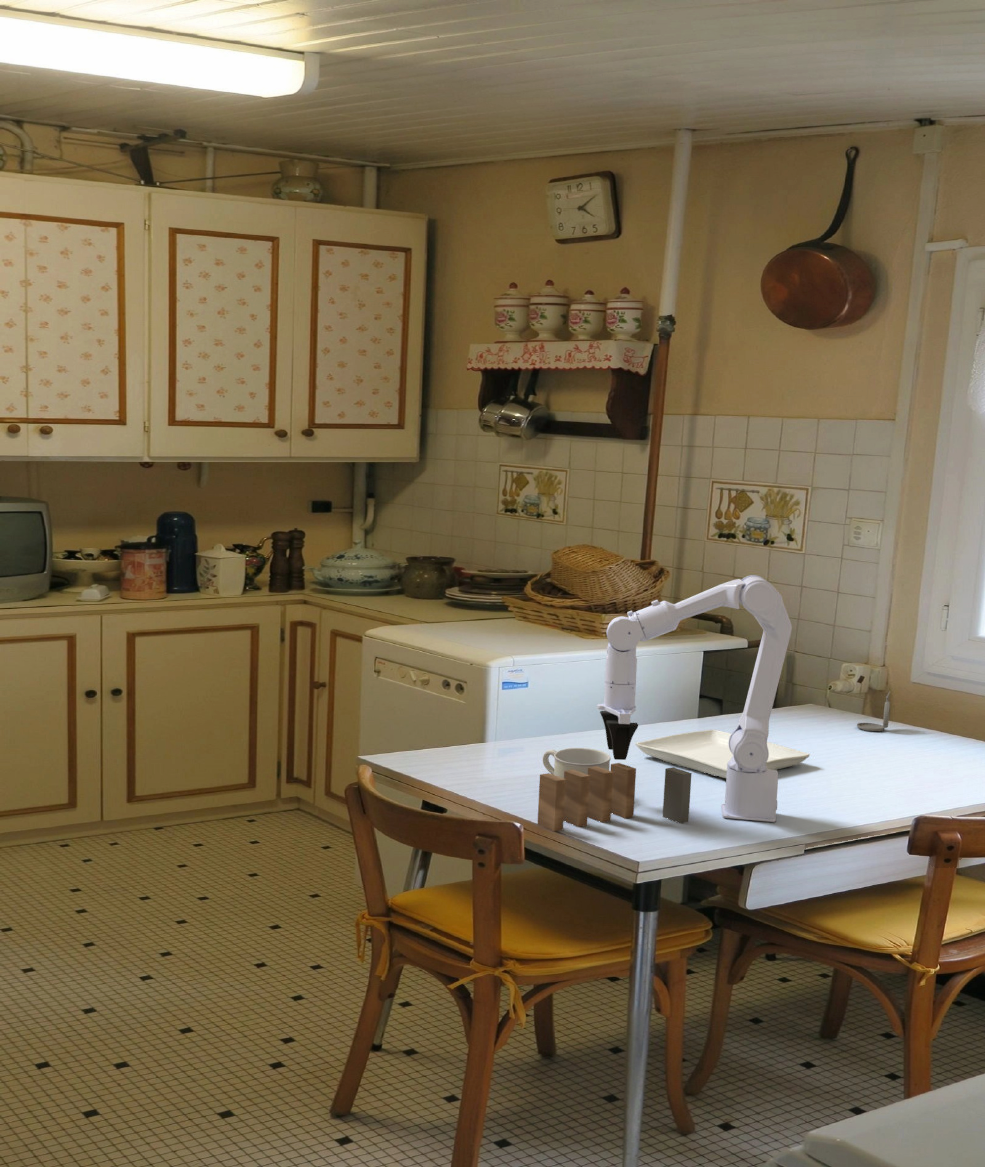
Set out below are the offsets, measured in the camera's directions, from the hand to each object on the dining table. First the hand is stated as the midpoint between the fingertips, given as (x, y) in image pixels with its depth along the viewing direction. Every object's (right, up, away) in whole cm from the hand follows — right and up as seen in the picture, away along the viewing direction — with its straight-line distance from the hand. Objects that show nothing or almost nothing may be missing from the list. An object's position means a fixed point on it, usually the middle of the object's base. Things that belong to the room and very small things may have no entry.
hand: (616, 754), depth 235 cm
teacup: (-7, -9, +9) cm, 15 cm away
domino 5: (+10, -11, -6) cm, 16 cm away
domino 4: (0, -10, -4) cm, 11 cm away
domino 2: (-9, -11, -11) cm, 18 cm away
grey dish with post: (+72, -5, +80) cm, 108 cm away
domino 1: (-13, -11, -14) cm, 22 cm away
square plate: (+26, -8, +39) cm, 48 cm away
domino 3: (-4, -11, -8) cm, 14 cm away
